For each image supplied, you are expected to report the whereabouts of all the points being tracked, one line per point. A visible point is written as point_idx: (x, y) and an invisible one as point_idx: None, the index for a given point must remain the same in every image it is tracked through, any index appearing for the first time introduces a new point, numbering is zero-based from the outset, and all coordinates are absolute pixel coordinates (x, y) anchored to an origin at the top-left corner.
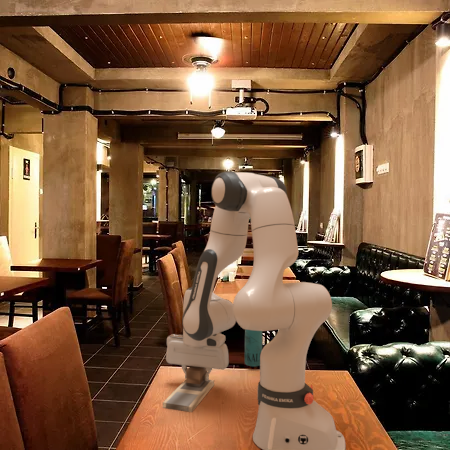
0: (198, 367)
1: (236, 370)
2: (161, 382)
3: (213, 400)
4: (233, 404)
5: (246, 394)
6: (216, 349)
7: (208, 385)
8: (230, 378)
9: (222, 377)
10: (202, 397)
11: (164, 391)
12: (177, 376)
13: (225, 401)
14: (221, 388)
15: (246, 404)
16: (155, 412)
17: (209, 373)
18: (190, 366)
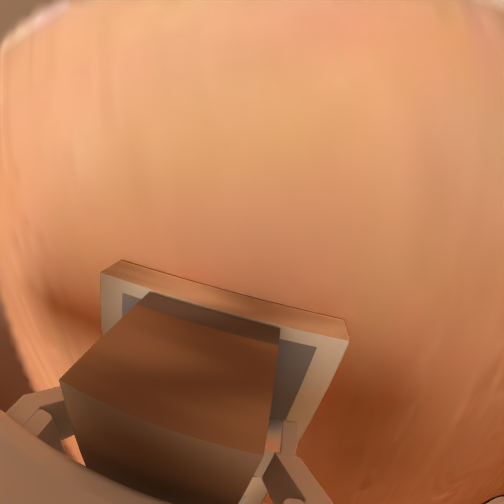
0: (173, 501)
1: (487, 13)
2: (9, 277)
3: (325, 478)
4: (405, 485)
5: (494, 408)
6: None
7: (297, 424)
8: (476, 171)
9: (415, 144)
10: None
11: None
12: (41, 169)
13: (379, 477)
14: (392, 370)
15: (452, 473)
16: None
17: (303, 463)
18: (88, 465)
